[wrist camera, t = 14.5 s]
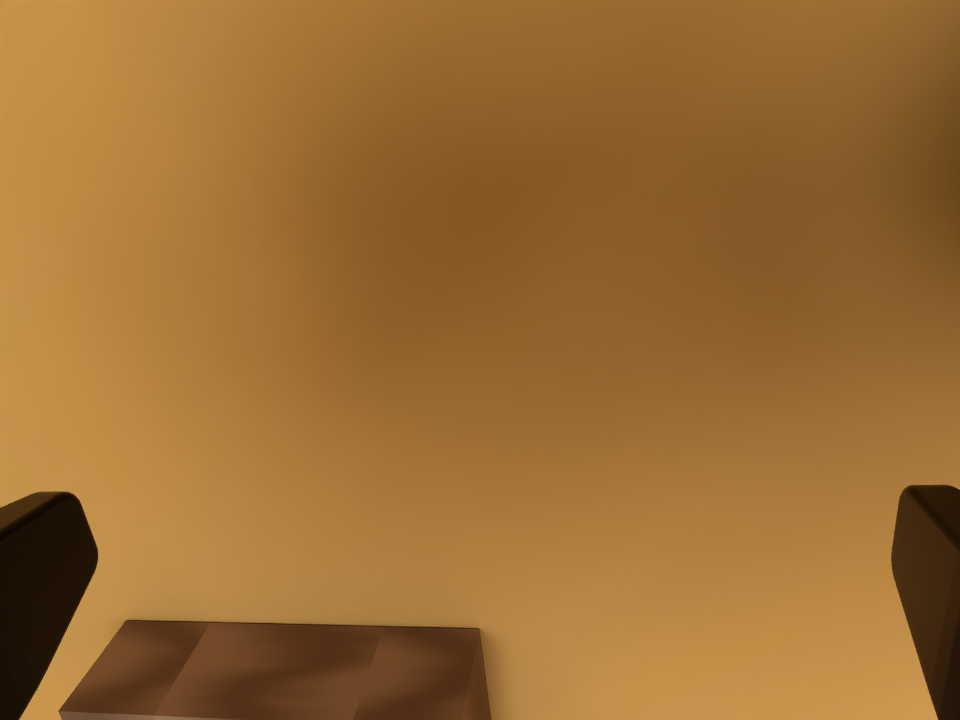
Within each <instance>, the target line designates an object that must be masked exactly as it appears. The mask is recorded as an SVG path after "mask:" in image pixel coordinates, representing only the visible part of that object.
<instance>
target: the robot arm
mask: <svg viewBox="0 0 960 720" xmlns="http://www.w3.org/2000/svg"><path fill="white" fill-rule="evenodd" d="M97 562H98V549H97V545H96V543H95V540H94V537H93V534H92V532H91V529H90V526H89V524H88V521H87V518H86V516H85V513H84V510H83V508H82V505H81V503H80V501H79V499H78V498H77V497H76V496H75V495H74V494H72V493H70V492H37V493H33V494H31V495H28V496H26V497H24V498H22V499H19V500H17V501H15V502H12V503H10V504H8V505H6V506H3V507H1V508H0V720H19V719H20V717H21V716H22V714H23V712H24V711H25V709H26V707H27V706H28V704H29V702H30V700H31V699H32V697H33V695H34V693H35V692H36V690H37V688H38V686H39V685H40V683H41V681H42V679H43V677H44V675H45V673H46V671H47V669H48V667H49V665H50V663H51V661H52V659H53V657H54V655H55V653H56V651H57V648H58V646H59V644H60V642H61V640H62V638H63V636H64V634H65V632H66V630H67V628H68V626H69V624H70V622H71V620H72V618H73V615H74V613H75V611H76V609H77V607H78V605H79V603H80V601H81V599H82V597H83V595H84V593H85V591H86V589H87V587H88V585H89V582H90V580H91V578H92V576H93V574H94V572H95V570H96V566H97ZM891 562H892V571H893V576H894V580H895V583H896V586H897V590H898V593H899V596H900V599H901V603H902V606H903V609H904V612H905V616H906V619H907V622H908V625H909V629H910V632H911V635H912V638H913V642H914V645H915V648H916V651H917V655H918V658H919V661H920V664H921V668H922V671H923V674H924V677H925V681H926V684H927V687H928V690H929V694H930V697H931V700H932V703H933V706H934V709H935V712H936V715H937V718H938V720H960V490H959V489H957V488H955V487H953V486H949V485H910V486H908V487H906V488H905V489H904V490H903V491H902V493H901V496H900V499H899V504H898V511H897V518H896V525H895V532H894V539H893V546H892V554H891Z"/></svg>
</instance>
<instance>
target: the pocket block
mask: <svg viewBox="0 0 960 720" xmlns="http://www.w3.org/2000/svg"><path fill="white" fill-rule="evenodd" d="M58 712H59V714H60V716H61V718H62V720H491V717H490V709H489V702H488V694H487V686H486V679H485V671H484V663H483V655H482V648H481V640H480V632H479V629H457V628H416V627H374V626H332V625H290V624H248V623H206V622H165V621H125V623H124V624H123V625H122V627H121V628H120V629H119V631H118V632H117V633H116V635H115V636H114V637H113V639H112V640H111V641H110V643H109V644H108V645H107V647H106V648H105V649H104V651H103V652H102V654H101V655H100V656H99V658H98V659H97V660H96V662H95V663H94V664H93V666H92V667H91V668H90V670H89V671H88V672H87V674H86V675H85V676H84V678H83V679H82V680H81V682H80V683H79V684H78V686H77V687H76V688H75V690H74V691H73V692H72V694H71V695H70V696H69V698H68V699H67V700H66V702H65V703H64V704H63V706H62V707H61V708H60V710H59V711H58Z"/></svg>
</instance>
